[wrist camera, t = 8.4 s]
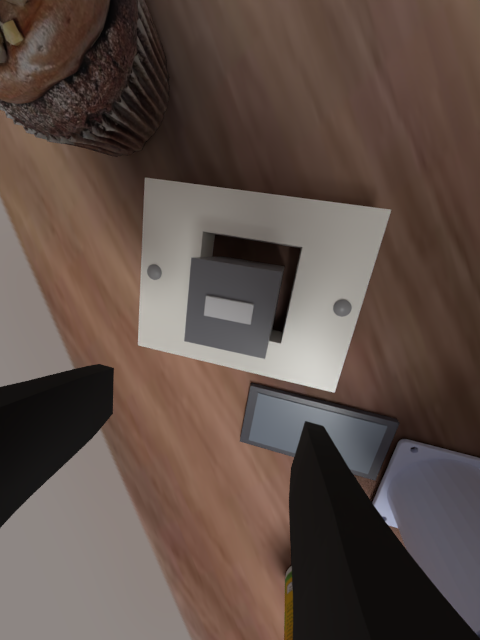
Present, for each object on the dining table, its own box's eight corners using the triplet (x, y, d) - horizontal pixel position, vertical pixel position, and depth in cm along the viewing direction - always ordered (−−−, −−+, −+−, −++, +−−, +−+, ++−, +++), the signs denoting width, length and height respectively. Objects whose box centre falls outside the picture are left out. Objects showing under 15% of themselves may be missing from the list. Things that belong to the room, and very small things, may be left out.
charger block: (284, 266, 17) (281, 272, 11) (273, 326, 18) (264, 360, 12) (223, 256, 18) (189, 257, 12) (216, 314, 19) (182, 342, 13)
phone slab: (252, 379, 20) (250, 386, 19) (393, 414, 19) (399, 423, 18) (242, 433, 22) (239, 441, 21) (371, 469, 20) (375, 481, 19)
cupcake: (103, -53, 14) (-264, -656, 5) (214, 81, 15) (81, -221, 5) (29, 95, 17) (-287, -97, 8) (124, 201, 18) (-63, 142, 8)
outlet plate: (375, 216, 15) (392, 209, 13) (328, 374, 18) (334, 393, 16) (165, 188, 17) (143, 176, 15) (155, 334, 20) (137, 345, 18)
